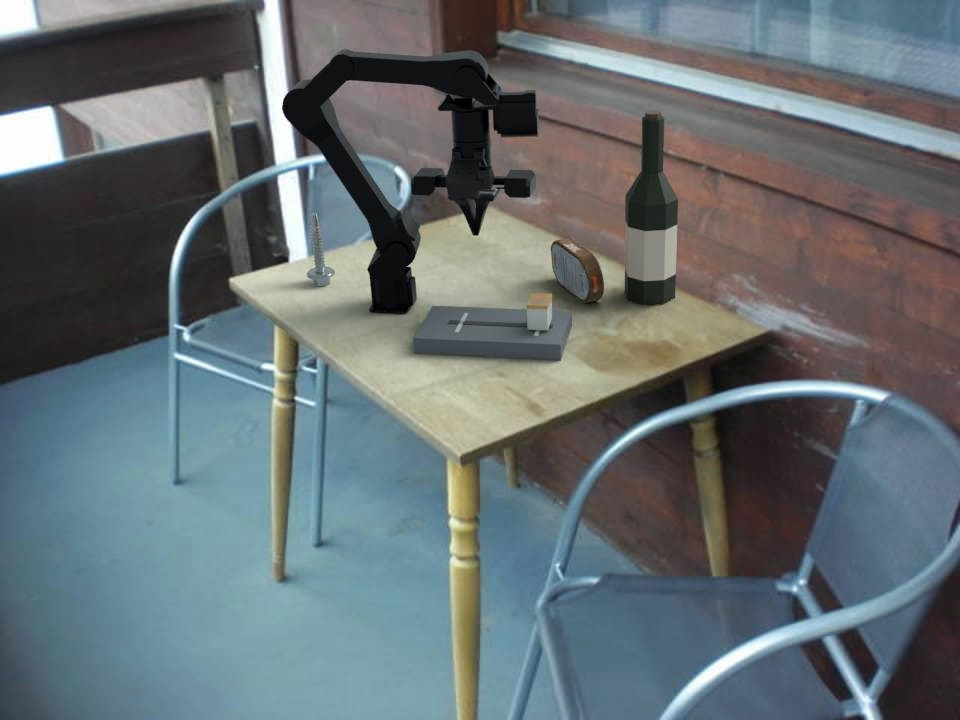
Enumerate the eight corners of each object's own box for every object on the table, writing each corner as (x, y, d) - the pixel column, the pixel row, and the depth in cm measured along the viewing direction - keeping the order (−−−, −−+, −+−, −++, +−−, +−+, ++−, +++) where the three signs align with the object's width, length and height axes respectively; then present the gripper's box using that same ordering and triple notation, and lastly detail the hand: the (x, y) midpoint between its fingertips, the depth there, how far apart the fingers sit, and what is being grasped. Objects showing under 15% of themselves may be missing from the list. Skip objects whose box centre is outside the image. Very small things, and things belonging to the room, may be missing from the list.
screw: (317, 291, 195) (302, 283, 198) (341, 283, 197) (326, 276, 201) (308, 218, 189) (293, 212, 192) (333, 211, 191) (318, 205, 195)
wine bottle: (641, 309, 181) (644, 122, 168) (614, 291, 188) (615, 110, 175) (685, 298, 184) (692, 114, 171) (657, 281, 191) (661, 102, 178)
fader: (527, 329, 170) (526, 304, 168) (532, 317, 174) (531, 292, 172) (548, 330, 169) (547, 305, 167) (552, 317, 173) (551, 293, 171)
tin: (605, 307, 183) (605, 258, 179) (588, 311, 182) (587, 261, 178) (565, 276, 196) (564, 229, 192) (548, 279, 195) (547, 232, 191)
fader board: (414, 353, 171) (413, 337, 170) (433, 320, 182) (432, 305, 180) (560, 360, 167) (560, 343, 166) (571, 325, 177) (571, 310, 176)
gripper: (397, 151, 169) (405, 251, 176) (522, 154, 165) (525, 255, 172) (417, 131, 179) (424, 226, 186) (535, 133, 175) (537, 230, 182)
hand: (476, 234), depth 181 cm, fingers closed
